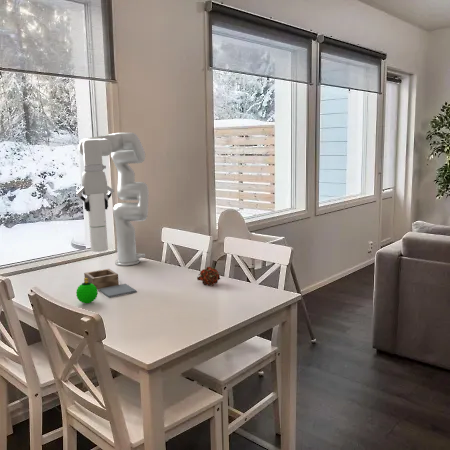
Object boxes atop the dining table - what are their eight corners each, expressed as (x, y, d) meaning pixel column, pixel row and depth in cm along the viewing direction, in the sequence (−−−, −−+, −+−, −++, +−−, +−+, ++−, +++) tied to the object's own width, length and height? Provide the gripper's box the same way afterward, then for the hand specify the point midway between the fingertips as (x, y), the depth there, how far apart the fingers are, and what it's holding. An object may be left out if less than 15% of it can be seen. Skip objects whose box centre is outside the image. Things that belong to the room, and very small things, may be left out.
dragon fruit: (216, 291, 203) (201, 289, 213) (228, 277, 206) (213, 275, 216) (204, 278, 200) (190, 276, 210) (216, 263, 203) (202, 262, 213)
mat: (125, 285, 210) (125, 283, 209) (136, 292, 200) (136, 290, 200) (99, 290, 203) (98, 288, 203) (108, 297, 193) (108, 295, 193)
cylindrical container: (110, 248, 212) (106, 192, 208) (104, 251, 205) (100, 194, 201) (94, 248, 213) (90, 192, 209) (88, 251, 206) (84, 194, 202)
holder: (109, 279, 220) (108, 268, 219) (118, 285, 210) (118, 274, 209) (85, 283, 213) (84, 272, 212) (93, 289, 204) (92, 278, 203)
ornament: (76, 307, 183) (74, 282, 181) (77, 300, 190) (75, 276, 189) (98, 305, 185) (96, 280, 183) (98, 298, 192) (96, 274, 191)
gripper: (110, 167, 211) (112, 207, 214) (70, 169, 201) (73, 211, 204) (116, 168, 204) (119, 209, 208) (75, 170, 195) (79, 213, 198)
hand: (96, 209), depth 206 cm, fingers closed on cylindrical container, 7 cm apart
